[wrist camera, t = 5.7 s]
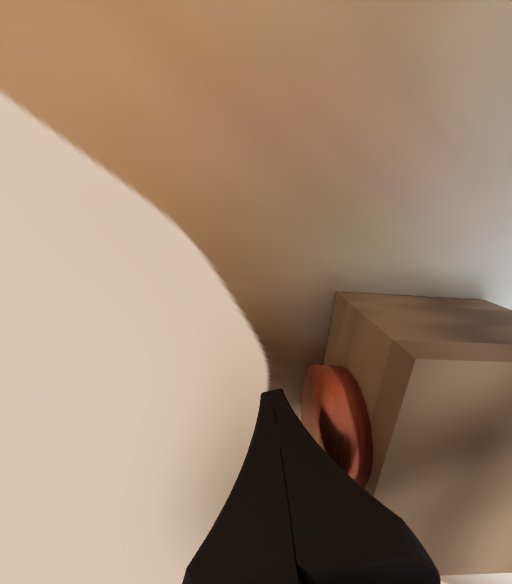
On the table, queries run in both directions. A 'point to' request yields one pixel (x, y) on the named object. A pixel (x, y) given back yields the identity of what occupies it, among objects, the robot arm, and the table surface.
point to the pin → (338, 418)
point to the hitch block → (436, 418)
